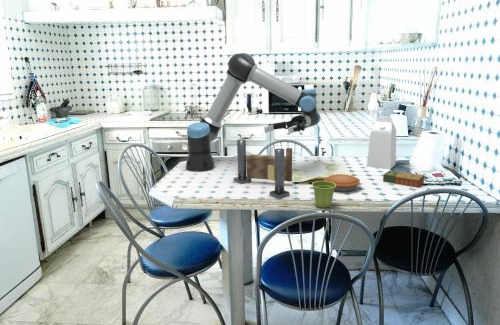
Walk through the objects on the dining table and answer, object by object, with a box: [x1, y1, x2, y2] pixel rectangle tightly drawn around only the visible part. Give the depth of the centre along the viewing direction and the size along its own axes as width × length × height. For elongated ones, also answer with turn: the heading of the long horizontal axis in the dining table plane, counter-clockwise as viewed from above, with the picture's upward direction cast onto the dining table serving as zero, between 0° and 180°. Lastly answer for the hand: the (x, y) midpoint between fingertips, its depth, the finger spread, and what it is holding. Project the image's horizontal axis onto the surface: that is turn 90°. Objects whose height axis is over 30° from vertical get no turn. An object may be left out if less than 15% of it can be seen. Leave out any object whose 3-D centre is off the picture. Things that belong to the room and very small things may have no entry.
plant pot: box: [311, 180, 336, 209], centre depth 161 cm, size 9×9×9 cm
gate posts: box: [233, 138, 290, 200], centre depth 181 cm, size 32×6×20 cm, turn 38°
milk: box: [366, 115, 397, 170], centre depth 213 cm, size 12×12×26 cm
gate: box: [246, 147, 293, 182], centre depth 188 cm, size 21×3×15 cm, turn 73°
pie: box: [323, 173, 361, 193], centre depth 182 cm, size 15×16×5 cm
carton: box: [382, 169, 425, 189], centre depth 187 cm, size 8×16×4 cm, turn 51°
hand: (276, 130), depth 192 cm, fingers open, 13 cm apart
